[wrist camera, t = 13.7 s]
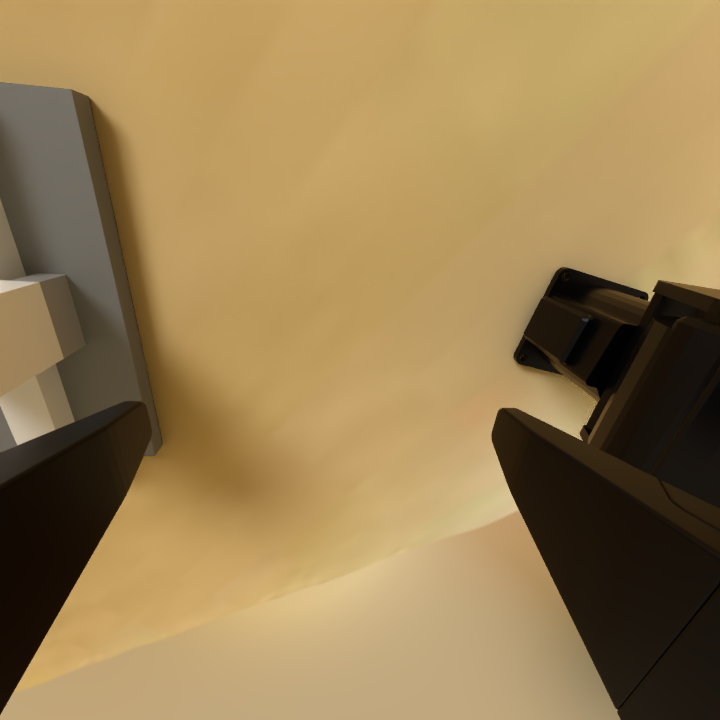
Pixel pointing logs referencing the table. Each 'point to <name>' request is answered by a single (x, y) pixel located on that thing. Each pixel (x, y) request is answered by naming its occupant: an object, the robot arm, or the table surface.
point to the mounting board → (66, 261)
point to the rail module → (35, 327)
